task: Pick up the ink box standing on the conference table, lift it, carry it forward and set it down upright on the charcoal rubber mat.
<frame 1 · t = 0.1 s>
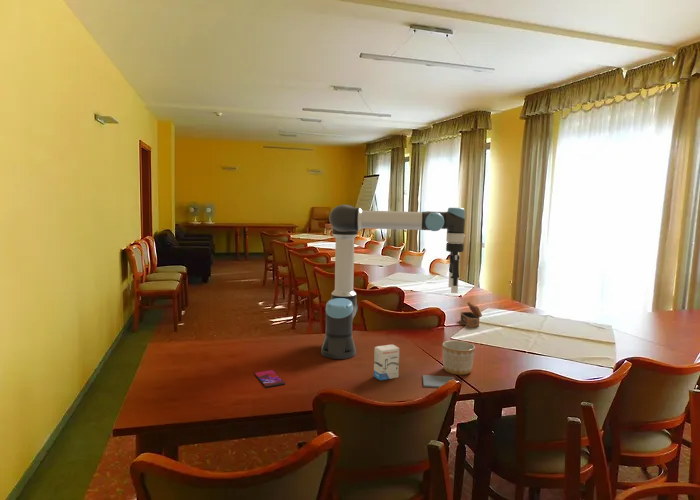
hand: (452, 290, 207), 28 cm above the table, fingers open, 13 cm apart
box: (469, 324, 257), on the table
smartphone: (269, 380, 173), on the table
planter: (457, 370, 186), on the table
ink box: (386, 377, 178), on the table
mat: (439, 382, 173), on the table
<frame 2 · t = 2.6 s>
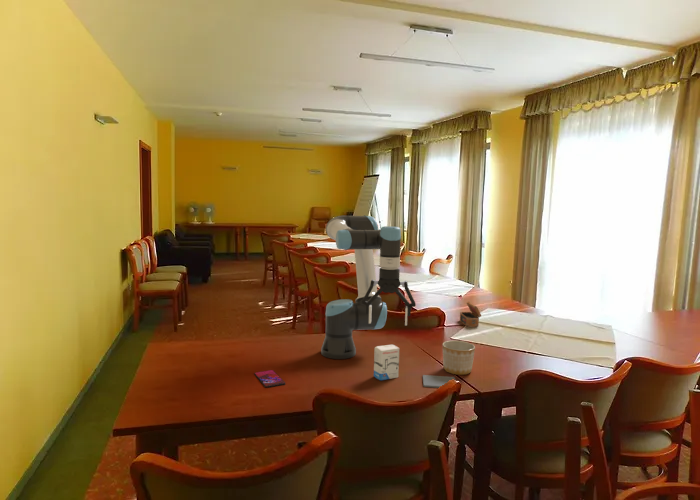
hand: (387, 323, 175), 21 cm above the table, fingers open, 13 cm apart
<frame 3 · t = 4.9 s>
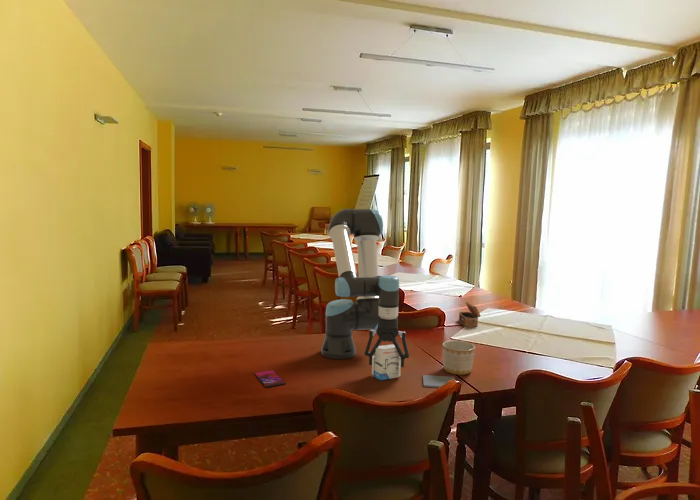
hand: (386, 374, 177), 1 cm above the table, fingers closed on ink box, 9 cm apart
ink box: (386, 377, 178), on the table, touching gripper
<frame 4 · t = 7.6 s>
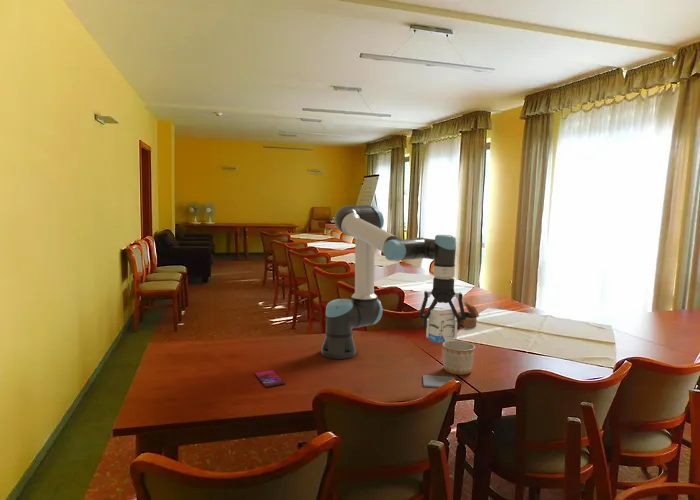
hand: (441, 337, 171), 17 cm above the table, fingers closed on ink box, 9 cm apart
ink box: (441, 340, 171), point 16 cm above the table, touching gripper
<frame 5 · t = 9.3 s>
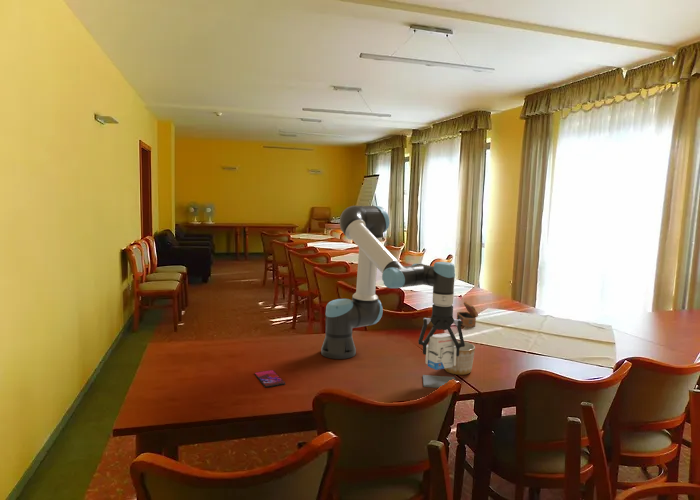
hand: (440, 363, 172), 7 cm above the table, fingers closed on ink box, 9 cm apart
ink box: (440, 367, 172), point 6 cm above the table, touching gripper
when the fingers open (3 cm above the table, at t = 10.7 s): ink box drops 1 cm, resting on mat.
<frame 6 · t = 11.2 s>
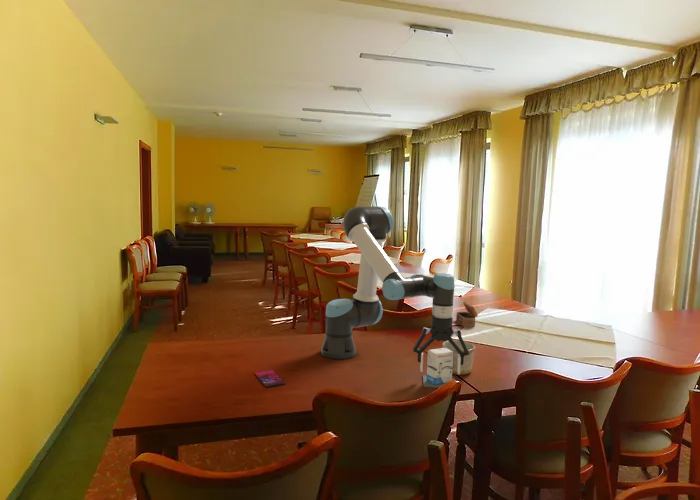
hand: (439, 371, 173), 4 cm above the table, fingers open, 13 cm apart
ink box: (439, 381, 173), resting on mat
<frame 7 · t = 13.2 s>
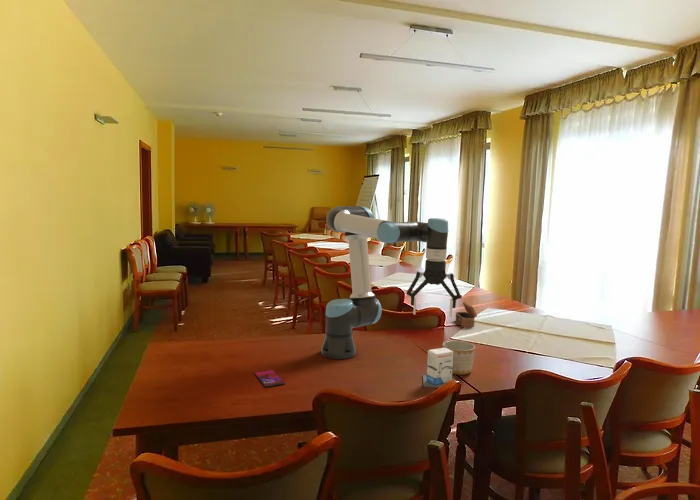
hand: (432, 315, 176), 24 cm above the table, fingers open, 13 cm apart
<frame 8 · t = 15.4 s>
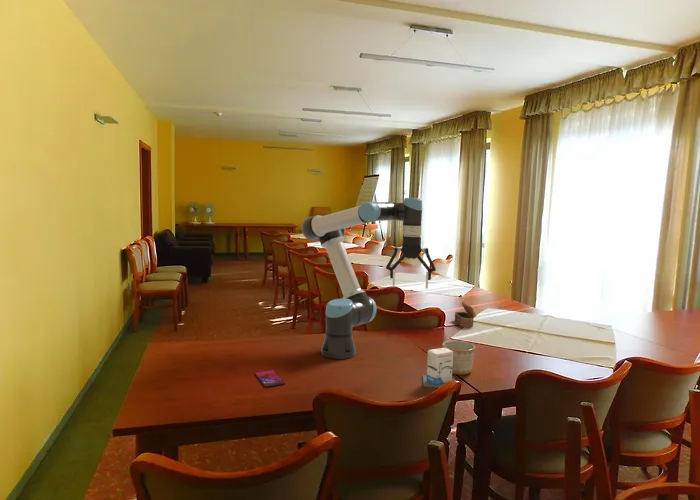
hand: (410, 287, 192), 32 cm above the table, fingers open, 13 cm apart
at the end: ink box inside the target area on the mat (0.0 cm from its centre), point 0.4 cm above the mat's base; ink box tilted 0°; the gripper is holding nothing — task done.
